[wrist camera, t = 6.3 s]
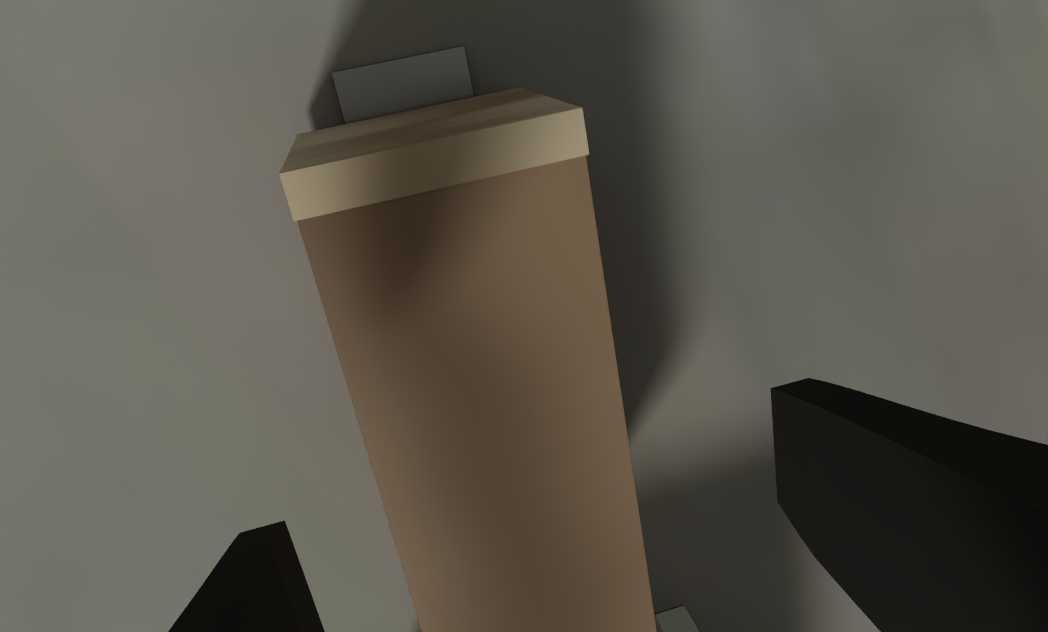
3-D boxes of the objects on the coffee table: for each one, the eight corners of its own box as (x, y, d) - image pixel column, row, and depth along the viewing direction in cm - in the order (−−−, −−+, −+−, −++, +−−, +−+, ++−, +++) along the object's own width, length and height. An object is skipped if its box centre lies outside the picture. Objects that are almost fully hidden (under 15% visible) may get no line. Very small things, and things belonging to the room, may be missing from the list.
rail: (462, 46, 17) (463, 46, 17) (628, 876, 29) (630, 882, 29) (331, 72, 17) (331, 73, 17) (552, 904, 28) (553, 909, 28)
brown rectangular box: (519, 86, 18) (582, 107, 13) (595, 514, 22) (660, 642, 18) (297, 134, 17) (279, 174, 12) (422, 564, 22) (443, 712, 17)
